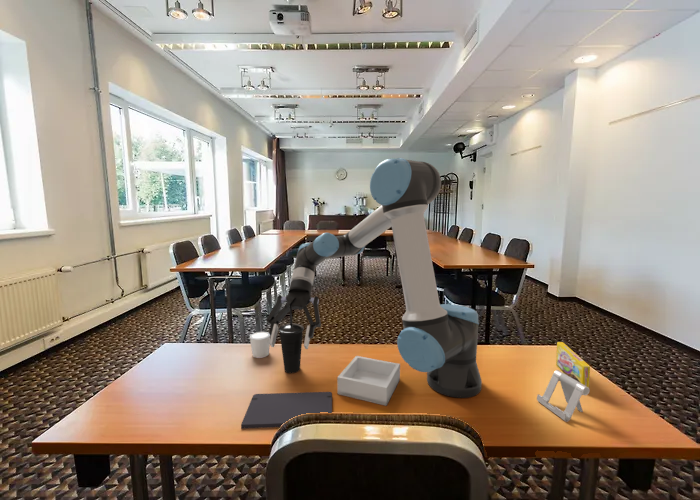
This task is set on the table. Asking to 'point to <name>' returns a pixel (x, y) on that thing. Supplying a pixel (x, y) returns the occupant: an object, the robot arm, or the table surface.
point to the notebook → (284, 408)
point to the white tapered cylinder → (260, 344)
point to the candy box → (572, 364)
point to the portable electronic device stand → (571, 393)
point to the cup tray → (369, 380)
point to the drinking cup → (291, 345)
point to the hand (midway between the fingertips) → (288, 346)
